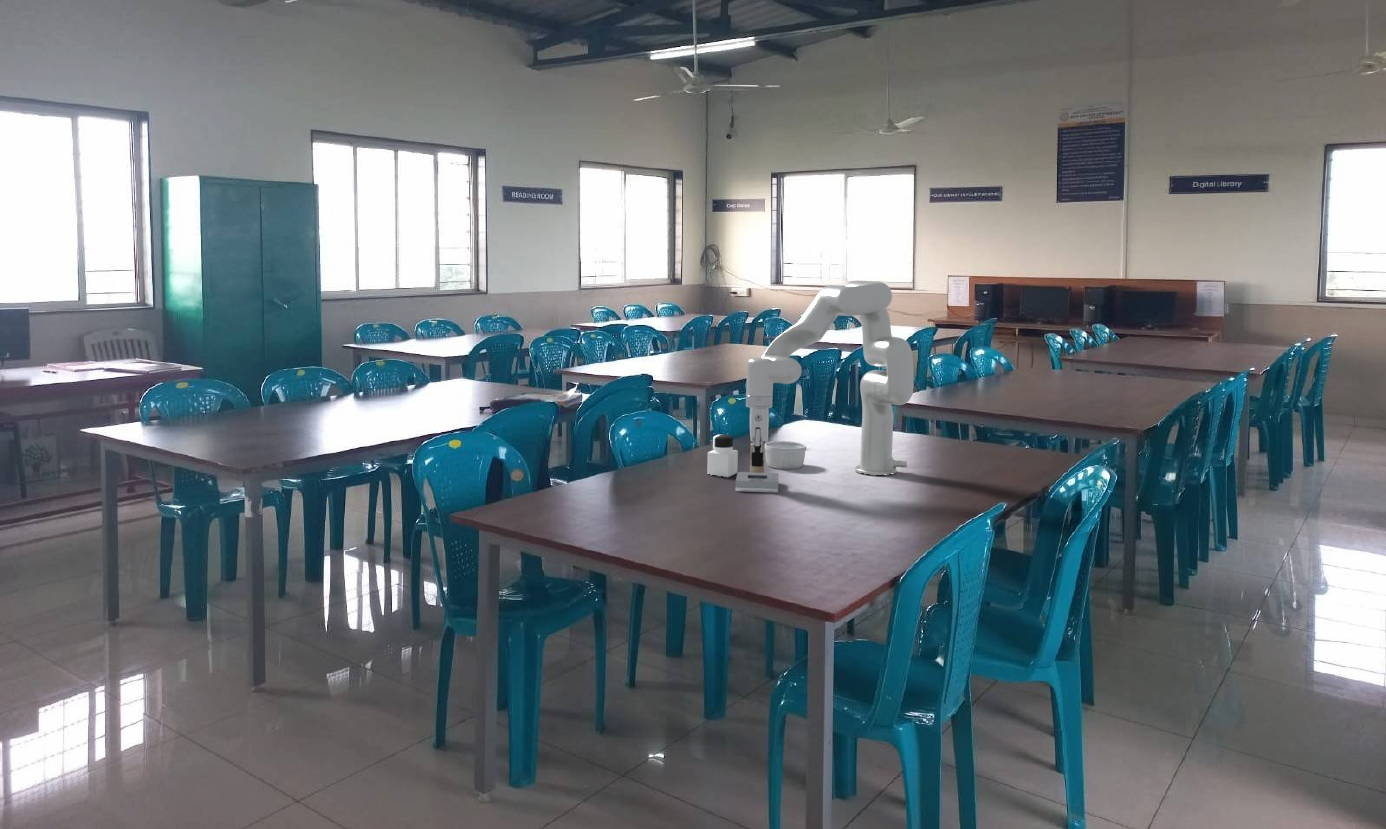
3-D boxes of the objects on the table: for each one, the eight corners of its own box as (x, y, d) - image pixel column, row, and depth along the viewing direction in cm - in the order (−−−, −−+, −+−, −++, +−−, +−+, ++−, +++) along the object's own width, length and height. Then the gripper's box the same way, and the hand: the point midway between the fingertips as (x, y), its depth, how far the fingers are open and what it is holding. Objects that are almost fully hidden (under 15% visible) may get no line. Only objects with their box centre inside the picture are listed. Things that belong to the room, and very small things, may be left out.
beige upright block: (764, 470, 298) (764, 443, 296) (763, 472, 295) (764, 445, 293) (750, 470, 298) (750, 443, 297) (749, 472, 295) (750, 444, 294)
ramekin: (805, 462, 333) (806, 441, 332) (806, 471, 320) (806, 449, 319) (764, 461, 334) (765, 440, 333) (763, 469, 321) (763, 447, 320)
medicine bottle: (737, 473, 315) (738, 434, 314) (728, 477, 309) (729, 438, 307) (716, 470, 318) (717, 432, 317) (706, 475, 312) (707, 436, 310)
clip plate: (778, 483, 302) (778, 473, 302) (778, 492, 291) (778, 482, 290) (737, 481, 303) (737, 471, 303) (735, 491, 292) (735, 480, 291)
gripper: (772, 406, 285) (770, 471, 288) (772, 398, 301) (770, 459, 304) (744, 405, 285) (743, 470, 288) (746, 397, 301) (745, 458, 304)
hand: (757, 464), depth 296 cm, fingers closed on beige upright block, 3 cm apart
